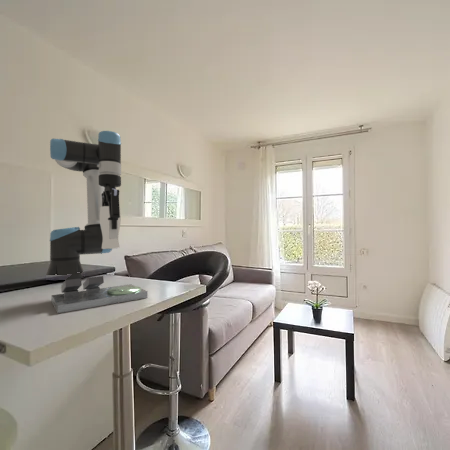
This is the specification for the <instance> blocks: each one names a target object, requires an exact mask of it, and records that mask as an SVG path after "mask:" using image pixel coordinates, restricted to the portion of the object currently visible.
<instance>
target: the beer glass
mask: <svg viewBox="0 0 450 450" xmlns="http://www.w3.org/2000/svg"><path fill="white" fill-rule="evenodd" d="M119 209H120V210H121V208H120V206H119ZM108 218H110V214H109V206H102V207H100V227H101V232H102V246H101V249H112V250H115V249H120V242H119V238H118V239H109V220H108ZM120 228H121V215H120V218H118V236H119V234H120Z"/></svg>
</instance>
